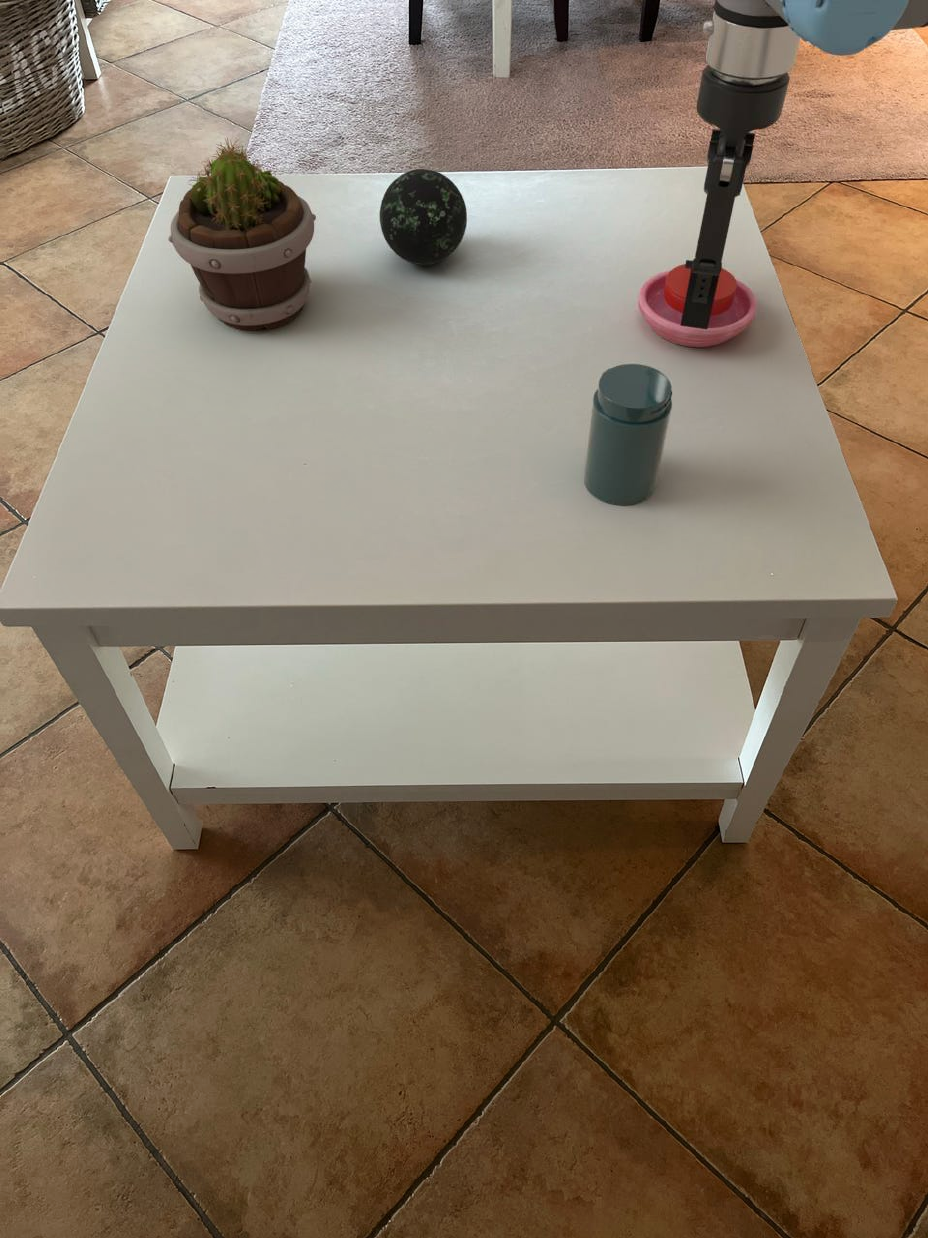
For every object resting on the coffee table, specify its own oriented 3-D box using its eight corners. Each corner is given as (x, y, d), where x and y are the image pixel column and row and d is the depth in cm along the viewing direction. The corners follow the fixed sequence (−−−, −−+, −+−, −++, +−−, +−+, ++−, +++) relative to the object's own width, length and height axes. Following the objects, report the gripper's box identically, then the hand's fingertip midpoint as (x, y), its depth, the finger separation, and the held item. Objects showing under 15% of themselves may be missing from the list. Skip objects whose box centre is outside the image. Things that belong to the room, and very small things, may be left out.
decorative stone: (482, 266, 107) (482, 181, 100) (406, 290, 104) (400, 204, 97) (443, 228, 113) (440, 145, 105) (369, 250, 110) (361, 165, 102)
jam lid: (648, 297, 97) (651, 281, 96) (690, 270, 100) (693, 254, 99) (705, 325, 94) (709, 308, 92) (746, 296, 97) (750, 280, 95)
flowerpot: (192, 279, 106) (142, 94, 91) (323, 265, 108) (297, 82, 92) (189, 352, 97) (133, 161, 82) (332, 336, 99) (305, 146, 83)
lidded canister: (670, 480, 84) (691, 384, 76) (625, 516, 81) (641, 421, 73) (614, 446, 87) (629, 351, 79) (569, 480, 84) (578, 385, 76)
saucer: (643, 285, 104) (647, 259, 102) (754, 299, 102) (760, 273, 100) (628, 348, 97) (631, 322, 94) (747, 364, 95) (754, 338, 92)
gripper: (717, 13, 88) (679, 226, 104) (687, 124, 73) (649, 352, 89) (797, 20, 86) (746, 234, 103) (784, 134, 71) (726, 363, 88)
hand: (701, 289), depth 96 cm, fingers open, 13 cm apart
